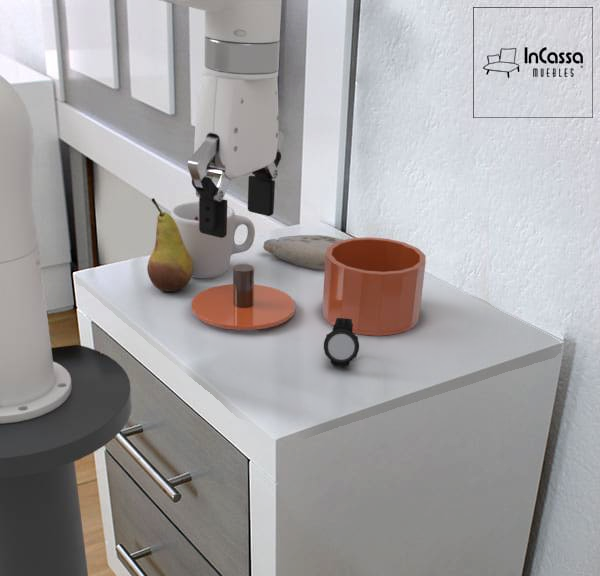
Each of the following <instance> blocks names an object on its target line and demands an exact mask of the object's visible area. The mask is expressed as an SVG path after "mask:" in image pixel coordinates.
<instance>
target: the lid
mask: <svg viewBox="0 0 600 576" xmlns="http://www.w3.org/2000/svg"><path fill="white" fill-rule="evenodd" d="M232 282H233V283H230V284H222V285H216V286H213V287H210V288H207V289H204V290H202V291H200V292H199V293H197V294H196V295H195V296H194V297H193V299H192V300H191V304H190V305H191V307H190V308H191V311H192V313H193V315H194V317H196V318H197V319H198V320H200V321H201V322H203V323H205V324H207V325H211V326H214V327H218V328H221V329H226V330H227V329H228V330H239V331H252V330H253V331H254V330H262V329H268V328H272V327H277V326H279V325H281V324H283V323H285V322H287V321H289V320H290V319H291V318H292V317H293V316H294V314H295V311H296V303H295V301H294V299H293V298H292V296H290V295H289V294H288V293H286V292H284V291H282V290H280V289H277V288H274V287H271V286H268V285H262V284H255V267H254V266H253V265H251V264H248V263H238V264H235V265H234V266H233V267H232Z"/></svg>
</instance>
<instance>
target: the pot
mask: <svg viewBox="0 0 600 576" xmlns="http://www.w3.org/2000/svg"><path fill="white" fill-rule="evenodd" d="M426 259H427V257H426V254H425V253H424V252H423V251H422V250H421V249H420V248H418V247H416V246H414V245H411V244H409V243H406V242H403V241H399V240H395V239H390V238H384V237H383V238H381V237H369V236H368V237H351V238H347V239H343V240H342V241H338V242H336V243H334V244H332V245H331V246H329V247H328V248H327V251H326V255H325V270H324V275H323V295H322V315H323V318H324V320H325V321H326V322H328V324H330V325H332V327H334V324H335V322H336V319H337V318H345V319H352V323H353V328H352V330H353V333H354V334H355V335H356V334H357V335H360V336H361V335H363V336H372V337H373V336H374V337H377V336H379V337H383V336H393V335H398V334H402V333H404V332H407V331H410V330H411V329H413V328H415V327H416V325H417V324H418V323H419V319H420V312H421V304H422V295H423V288H424V279H425V273H426V272H425V270H426V264H427V263H426V262H427V260H426Z"/></svg>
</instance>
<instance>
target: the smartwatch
mask: <svg viewBox="0 0 600 576" xmlns="http://www.w3.org/2000/svg"><path fill="white" fill-rule="evenodd" d="M352 328H353V323H352V319H345V318H337V319H336V322H335V324H334V326H332V330H331V331H330V332H329V333H327V334H326V336H325V338H324V340H323V351H324V354H325V356H326V357H327V358H328V359H329V360H330V364H331V366H336V367H349V366H350V363H351V362H352V361H353V360H354V359H355V358H357V355H358V353H359V351H360V342H359V337H358V335H356V333H353V330H352Z"/></svg>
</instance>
